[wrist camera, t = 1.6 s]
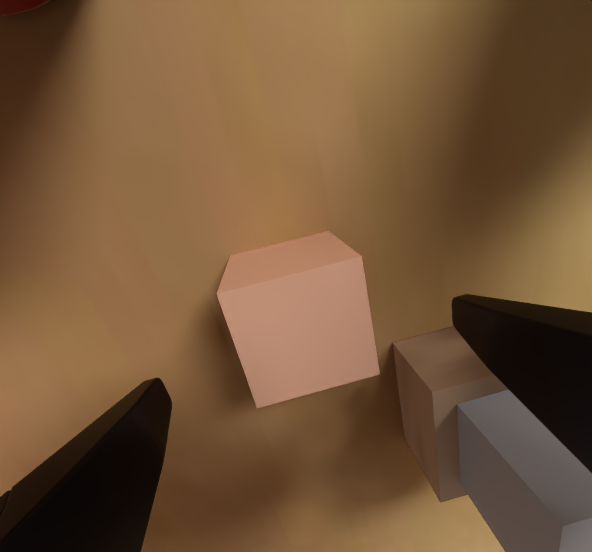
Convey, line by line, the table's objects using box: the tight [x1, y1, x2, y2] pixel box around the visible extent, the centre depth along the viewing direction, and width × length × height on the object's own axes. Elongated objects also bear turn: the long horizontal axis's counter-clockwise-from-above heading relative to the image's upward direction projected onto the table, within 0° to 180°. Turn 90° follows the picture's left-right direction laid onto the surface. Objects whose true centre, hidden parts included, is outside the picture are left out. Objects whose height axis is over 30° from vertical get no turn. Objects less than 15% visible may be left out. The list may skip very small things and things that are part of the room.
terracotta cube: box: [217, 231, 380, 408], centre depth 12 cm, size 4×4×4 cm
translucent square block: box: [393, 326, 509, 502], centre depth 15 cm, size 7×7×4 cm
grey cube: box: [457, 390, 592, 552], centre depth 11 cm, size 5×5×4 cm
